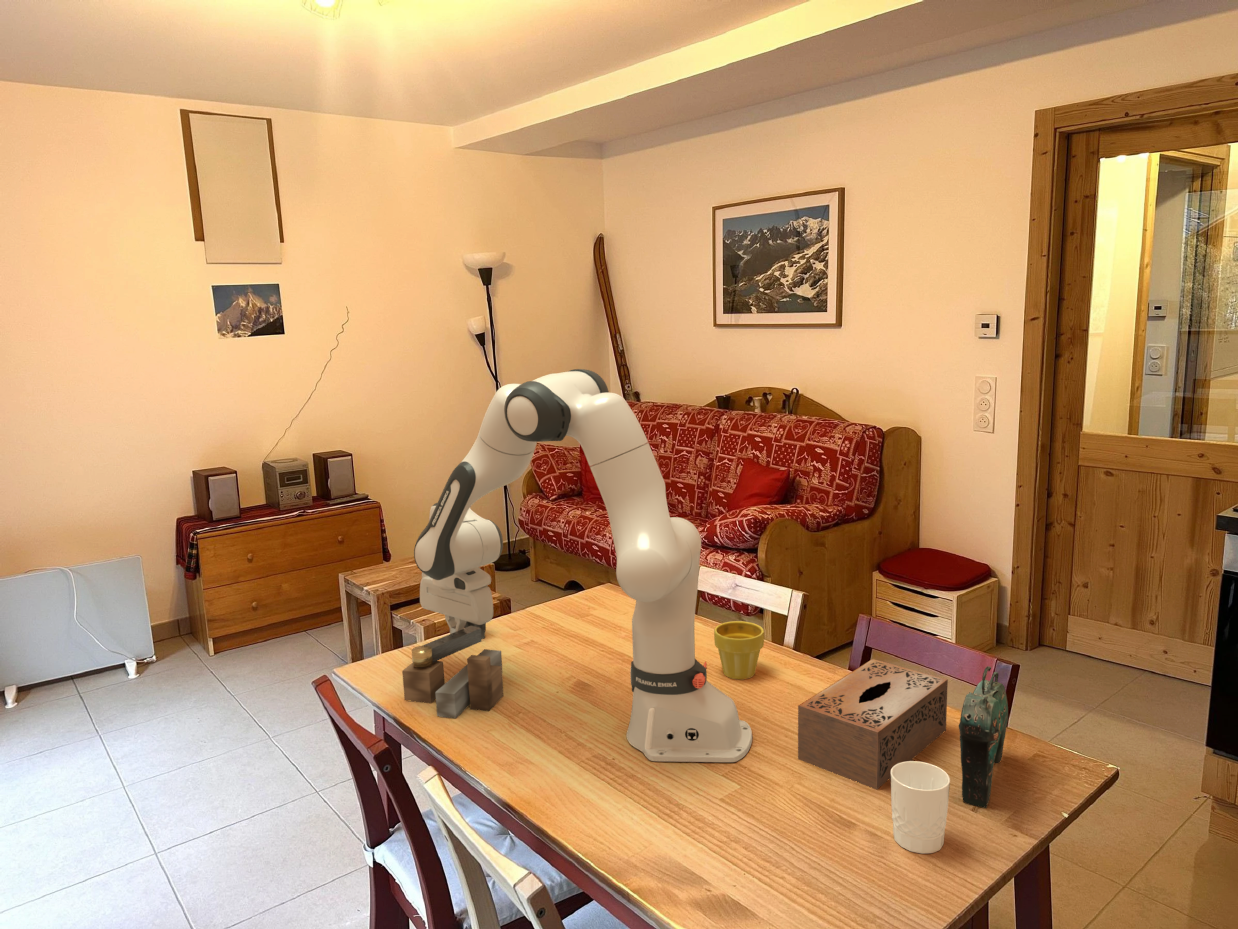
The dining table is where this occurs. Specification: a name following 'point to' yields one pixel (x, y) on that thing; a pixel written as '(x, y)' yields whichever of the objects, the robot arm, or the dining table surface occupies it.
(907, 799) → the white cup
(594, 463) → the robot arm
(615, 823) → the dining table surface
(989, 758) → the dark green upright piece
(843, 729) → the tissue box cover
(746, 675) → the plant pot
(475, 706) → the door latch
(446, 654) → the bar
